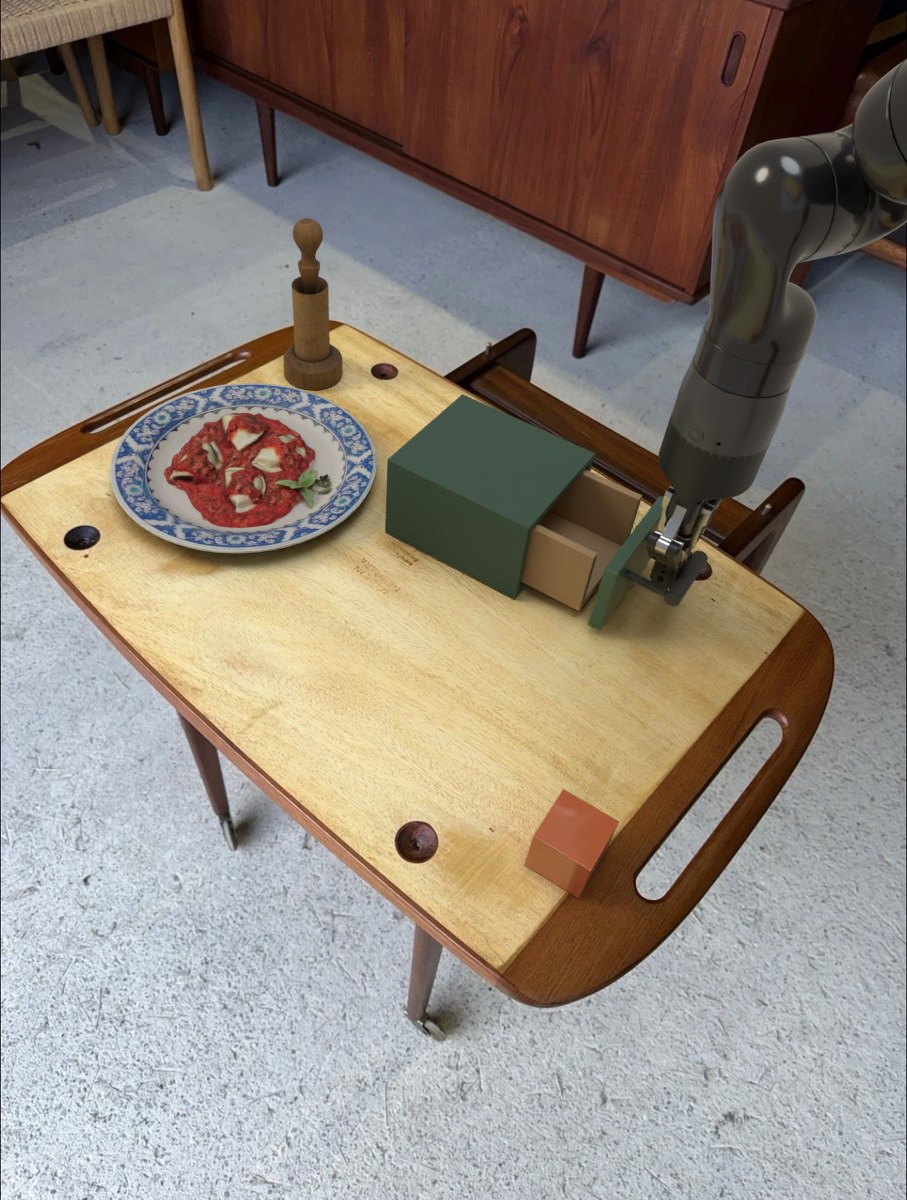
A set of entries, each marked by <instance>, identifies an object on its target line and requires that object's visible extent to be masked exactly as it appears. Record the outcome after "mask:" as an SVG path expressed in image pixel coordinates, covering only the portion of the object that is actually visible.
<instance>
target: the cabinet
mask: <svg viewBox="0 0 907 1200" xmlns="http://www.w3.org/2000/svg"><path fill="white" fill-rule="evenodd" d="M595 456H596V452H592V451H591V450H589V449H586V448H584V447H582V446H579V445H577V444H575V443H574V442H573V443H572V442H570V441H569V440H566V439H563V438H561V437H559V436H557V435H555V434H553V433H550V432H548V431H546V430H543V429H541V428H539V427H537V426H534V425H533V424H530V423H528V422H526V421H524V420H521V419H519V418H517V417H515V416H513V415H510V414H508V413H506V412H503V411H501V410H499V409H497V408H495V407H492V406H490V405H488V404H485V403H483V402H482V401H480V400H476V399H475V398H472V397H470V396H468V395H465V394H462V393H461V395H460V396H458V397H457V398H456V399H455V400H454V401H453V402H451V403H450V404H449V405H448V406H447V407H446V408H445V409H443V410H442V411H441V412H440V413H439V414H438V415H436V417H433V418H432V420H431V421H429V422H428V423H427V424H426V425H425V426H424V427H423V428H421V430H419V431H418V432H417V433H416V434H415V435H414V436H412V437H411V438H410V439H409V440H408V441H407V442H405V444H403V445H402V446H401V447H400V448H399V449H397V450H396V451H395V452H394V453H393V454H392V455H391V456H389V457H388V458H387V464H386V467H387V468H386V492H385V493H386V494H385V495H386V496H385V519H384V521H385V523H384V526H385V527H384V533H385V534H387V535H389V536H391V537H392V538H395V539H396V540H399V541H401V542H402V543H404V544H406V545H408V546H410V547H412V548H414V549H416V550H418V551H420V552H422V553H423V554H426V555H428V556H429V557H430V558H431V557H432V558H433V559H435V560H437V561H439V562H440V563H443V564H445V565H447V566H449V567H451V568H452V569H455V570H456V571H458V572H460V573H461V574H464V575H466V576H468V577H469V578H472V579H474V580H476V581H477V582H479V583H482V584H483V585H485V586H487V587H489V588H491V589H493V590H495V591H497V592H498V593H500V594H502V595H504V596H507V598H510V599H512V600H514V601H515V600H516V599H517V598H518V596H519V595H520V594H521V593H523V591H524V590H525V588H526V587H527V586H528V585H527V584H525V583H523V582H521V581H522V577H523V572H524V567H525V562H526V557H527V552H528V547H529V542H530V537H531V532H532V529H533V528H534V527H535V526H536V525H537V524H538V523H539V521H540V520H541V519H542V518H543V517H544V516H545V515H546V513H547V512H548V511H549V510H550V509H551V508H552V507H553V505H554V504H555V503H556V502H557V501H558V500H559V499H560V497H561V496H562V495H563V494H564V493H565V492H566V491H567V490H568V488H569V487H570V486H571V485H572V484H573V483H574V482H575V480H576V479H577V478H578V477H579V476H580V475H581V474H582V472H583V471H584V470H587V471H590V472H592V468H593V463H594V459H595Z"/></svg>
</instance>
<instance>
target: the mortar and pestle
mask: <svg viewBox="0 0 907 1200" xmlns="http://www.w3.org/2000/svg"><path fill="white" fill-rule="evenodd" d="M292 238H293V242H294V243H295V245H296V247H297V248H298V249H299V251H300V255H301V257H300V259H299V260H298V262H297V268H298V272H299V275H300V276H298V277H296V278H294V279H293V280H292V282H291V284H290V285H291V301H292V317H293V338H294V339H293V340H294V344H292V345H291V346H289V347H288V348H287V349H286V350H285V352H284V354H283V374H284V377H285V379H286V381H287V382H288V383H289V384H291V385H292V386H293V387H294V388H297V389H300V390H306V391H308V390H309V391H318V390H319V389H320V390H325V389H328V387H329V388H331V387H333V386H335V385H336V384H338V383H339V381H340V380H341V379H342V376H343V356H342V353H341V351H340V350H339V348H337V347H336V346H334V345H332V344H331V343H330V342H331V339H330V300H329V299H330V298H329V297H330V296H329V283H328V281H327V280H326V279H325V278H323V277H322V276H319V274H320V270H321V263H320V262H321V261H319V260H318V259H317V258H316V257H317V256H316V255H317V251H318V250H319V248H320V246H321V245H322V242H323V239H324V231H323V228H322V226H321V224H320V223H319V222H318V221H317V220H316V219H313V218H311V217H304V218H301V219H299V220H298V221H296V223H295V224H294V225H293V229H292ZM337 382H338V383H337Z"/></svg>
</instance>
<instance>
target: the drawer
mask: <svg viewBox="0 0 907 1200" xmlns="http://www.w3.org/2000/svg"><path fill="white" fill-rule="evenodd" d="M663 498H664V496H662V495H659V496H658V497H657V499H656V500H655V501H654V503H653V504H651V507H650V508H649V509H648V510H647V512H646V513H645V514H644V516H643V517H642V518H641V520H640V521H639V522H638V523H637V525H636V526H635V528H634V529H633V527H634V524H635V521H636V518H637V514H638V513H639V508H640V506H641V502H642V499H643V495H642V494H640V493H638V492H636V491H633V490H631V489H629V488H627V487H625V486H623V485H620V484H618V483H616V482H613V481H611V480H609V479H607V478H605V477H603V476H601V475H598V474H596V473H595V472H593V471H587V470H584V471H583V472H582V474H581V475H580V476H579V477H578V478H577V479H576V480H575V482H574V483H573V484H572V485H571V486H570V487H569V488H568V490H567V491H566V492H565V493H564V494H563V495H562V496H561V497H560V499H559V500H558V501H557V502H556V503H555V504H554V505H553V507H552V508H551V509H550V510H549V511H548V512H547V513H546V515H545V516H544V517H543V518H542V519H541V520H540V521H539V523H538V524H537V525H536V526H535V527H534V528H533V529H532V532H531V537H530V542H529V547H528V552H527V557H526V562H525V567H524V572H523V577H522V581H521V582H523V583H525V584H527V586H529V587H532V589H535V590H537V591H539V592H540V593H542V594H545V595H546V596H548V597H550V598H552V599H554V600H557V601H558V602H560V603H562V604H564V605H565V606H568V607H570V608H572V609H574V610H576V611H577V612H580V611H581V609H582V608H583V607H584V605H585V604H586V602H587V601H588V600H589V598H590V597H591V596H592V595H593V593H594V592H595V591H596V589H597V588H598V590H597V593H596V596H595V599H594V603H593V606H592V610H591V614H590V616H589V620H588V623H587V625H588V626H589V627H591V628H593V629H595V630H597V631H599V632H600V631H601V630H602V628H603V627H604V625H605V624H606V623H607V622H608V620H609V618H610V617H611V616H612V615H613V613H614V612H615V610H616V609H617V608H618V606H619V605H620V603H621V602H622V600H623V599H624V597H625V596H626V594H627V593H628V592H629V591H630V589H631V588H632V586H633V585H634V584H636V585H638V586H640V587H641V588H644V589H646V590H648V591H650V592H653V593H654V594H656V595H658V596H661V597H662V598H663V600H664V603H665V604H666V605H668V607H673V608H676V607H678V606H680V604H681V603H682V601H683V599H684V598H685V596H686V595H687V593H688V592H689V590H690V588H691V587H692V586H693V584H694V582H695V581H696V579H697V577H698V576H699V574H700V573H701V571H702V570H703V568H704V567H705V565H706V563H707V562H708V560H709V556H708V554H707V553H706V552H705V551H703V550H699V549H698V550H697V549H696V550H695V551H692V550H691V551H690V552H689V553H688V558H687V559H686V562H685V563H684V566H683V568H682V570H681V572H680V573H679V575H678V576H677V578H676V579H675V581H674V582H673V584H672V585H671V587H670V588H669V589H667V588H665V587H663V586H661V585H659V584H657V583H655V582H653V581H651V580H650V578H647V577H645V576H642V575H641V574H642V572H643V571H644V570H645V568H646V567H647V565H648V564H649V562H650V561H651V560H652V559H651V558H649V555H648V551H647V548H646V542H647V541H646V539H647V537H648V535H650V534H651V533H652V532H655V531H656V530H657V526H658V523H659V520H660V517H661V514H662V511H663V508H662V506H661V504H662V501H663Z"/></svg>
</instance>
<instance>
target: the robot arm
mask: <svg viewBox="0 0 907 1200" xmlns="http://www.w3.org/2000/svg"><path fill="white" fill-rule="evenodd" d="M712 216H713V217H712V237H711V267H710V287H709V288H710V289H709V291H710V292H709V293H710V294H709V307H708V311H707V314H706V317H705V320H704V323H703V326H702V329H701V333H700V335H699V338H698V342H697V345H696V347H695V350H694V354H693V356H692V358H691V361H690V363H689V366H688V367H687V369H686V371H685V374H684V376H683V378H682V380H681V383H680V384H679V385H680V386H679V389H678V391H677V395H676V398H675V400H674V404H673V407H672V410H671V413H670V417H669V419H668V423H667V425H666V429H665V432H664V435H663V438H662V441H661V445H660V447H659V451H658V456H657V459H658V460H657V461H658V465H659V468H660V470H661V471H662V474H663V475H664V477H665V478H666V479H667V480H668V482H669V483H670V484H671V485H669V486H668V487H667V489H666V491H665V493H664V495H663V501H662V504H661V506H662V508H663V511H662V514H661V517H660V520H659V523H658V526H657V530H656V531H655V532H652V533H651V534H650V535H648V537H647V539H646V541H647V542H646V548H647V551H648V555H649V558H651V559H650V560H653V561H654V562H653V565H652V569H651V571H650V573H649V580H651V581H653V582H655V583H657V584H659V585H661V586H663V587H665V588H667V589H668V590H669V588H670V587H671V585H672V584H673V582H674V581H675V579H676V578H677V576H678V575H679V573H680V572H681V570H682V569H683V567H684V566H685V564H686V562H687V558H688V553H689V552H690V551H691V552H692V550H694V549H695V548H696V546H697V544H698V542H699V540H700V539H701V538H702V535H703V534H704V533H705V531H707V529H708V527H709V526H710V524H711V522H712V520H713V517H714V514H715V513H716V510H717V509H718V508H719V507H720V505H721V504H722V503H723V501H724V500H728V499H732V498H736V497H738V496H740V495H743V494H744V493H746V492H747V491H748V490H749V489H750V487H752V485H753V484H754V482H755V479H756V478H757V474H758V472H759V470H760V468H761V466H762V463H763V461H764V459H765V456H766V454H767V452H768V449H769V447H770V445H771V443H772V440H773V438H774V436H775V433H776V431H777V429H778V427H779V424H780V422H781V419H782V418H783V417H782V416H783V415H784V411H785V408H786V405H787V402H788V401H787V400H788V397H789V393H790V390H791V388H792V384H793V382H794V380H795V378H796V375H797V373H798V371H799V368H800V366H801V364H802V361H803V359H804V357H805V354H806V352H807V350H808V347H809V345H810V342H811V339H812V337H813V334H814V332H815V329H816V325H817V320H818V319H817V318H818V317H817V316H818V314H817V313H818V311H817V307H816V303H815V301H814V299H813V297H812V296H811V295H810V293H808V292H807V291H806V290H804V289H803V288H802V287H801V286H800V285H797V284H796V283H794V282H792V281H789V280H790V278H791V275H792V274H793V270H795V267H796V266H797V264H800V263H801V264H802V263H805V262H810V261H814V260H815V261H816V260H820V259H824V258H825V259H826V258H830V257H835V256H840V255H843V254H847V253H851V252H853V251H857V250H859V249H861V248H863V247H866V246H868V245H870V244H872V243H875V242H877V241H879V240H880V239H883V238H884V237H886V236H888V235H889V234H891V233H892V232H895V231H897V230H898V229H899V228H901V227H902V226H903V225H905V224H906V223H907V58H905V59H904V60H902V61H901V62H900V63H899V64H896V66H894V67H893V68H892V69H891V70H889V71H888V72H887V73H886V74H885V75H883V76H882V77H881V78H880V79H879V80H878V81H877V82H875V84H873V85H872V87H870V89H869V90H868V91H867V92H866V94H865V95H864V96H863V98H862V99H861V100H860V103H859V105H858V106H857V108H856V111H855V114H854V117H853V120H852V123H851V124H848V125H847V126H844V127H842V128H840V129H837V130H835V131H829V132H822V133H815V134H807V135H802V136H794V137H786V138H778V139H771V140H767V141H764V142H761V143H758V144H756V145H754V146H753V147H751V148H749V149H748V150H746V151H745V152H744V153H743V154H742V155H741V156H740V157H739V158H738V159H737V161H736V162H735V163H734V164H733V166H732V167H731V169H729V172H728V173H727V174H726V176H725V178H724V179H723V182H722V183H721V186H720V188H719V191H718V194H717V197H716V199H715V205H714V209H713V215H712Z"/></svg>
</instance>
